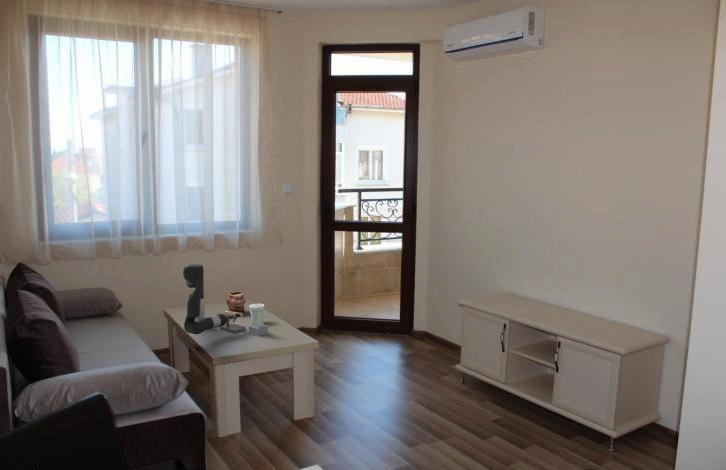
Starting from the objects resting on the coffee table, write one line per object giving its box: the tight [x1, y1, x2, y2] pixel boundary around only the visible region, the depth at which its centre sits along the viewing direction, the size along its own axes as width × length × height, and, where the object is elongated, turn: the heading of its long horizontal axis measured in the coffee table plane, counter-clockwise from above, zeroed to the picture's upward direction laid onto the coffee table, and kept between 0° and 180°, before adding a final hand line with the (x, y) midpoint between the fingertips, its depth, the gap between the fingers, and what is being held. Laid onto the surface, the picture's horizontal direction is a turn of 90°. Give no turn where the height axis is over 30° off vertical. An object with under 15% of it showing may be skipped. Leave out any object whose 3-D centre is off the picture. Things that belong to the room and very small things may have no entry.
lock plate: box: [219, 323, 247, 334], centre depth 378 cm, size 13×9×2 cm
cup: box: [248, 303, 265, 323], centre depth 394 cm, size 10×10×11 cm
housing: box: [248, 324, 269, 337], centre depth 370 cm, size 8×8×5 cm
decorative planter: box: [225, 291, 246, 315], centre depth 417 cm, size 20×12×14 cm, turn 37°
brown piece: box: [224, 309, 244, 325], centre depth 378 cm, size 13×3×9 cm, turn 60°
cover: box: [252, 308, 265, 328], centre depth 369 cm, size 5×5×11 cm
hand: (238, 315), depth 374 cm, fingers closed
